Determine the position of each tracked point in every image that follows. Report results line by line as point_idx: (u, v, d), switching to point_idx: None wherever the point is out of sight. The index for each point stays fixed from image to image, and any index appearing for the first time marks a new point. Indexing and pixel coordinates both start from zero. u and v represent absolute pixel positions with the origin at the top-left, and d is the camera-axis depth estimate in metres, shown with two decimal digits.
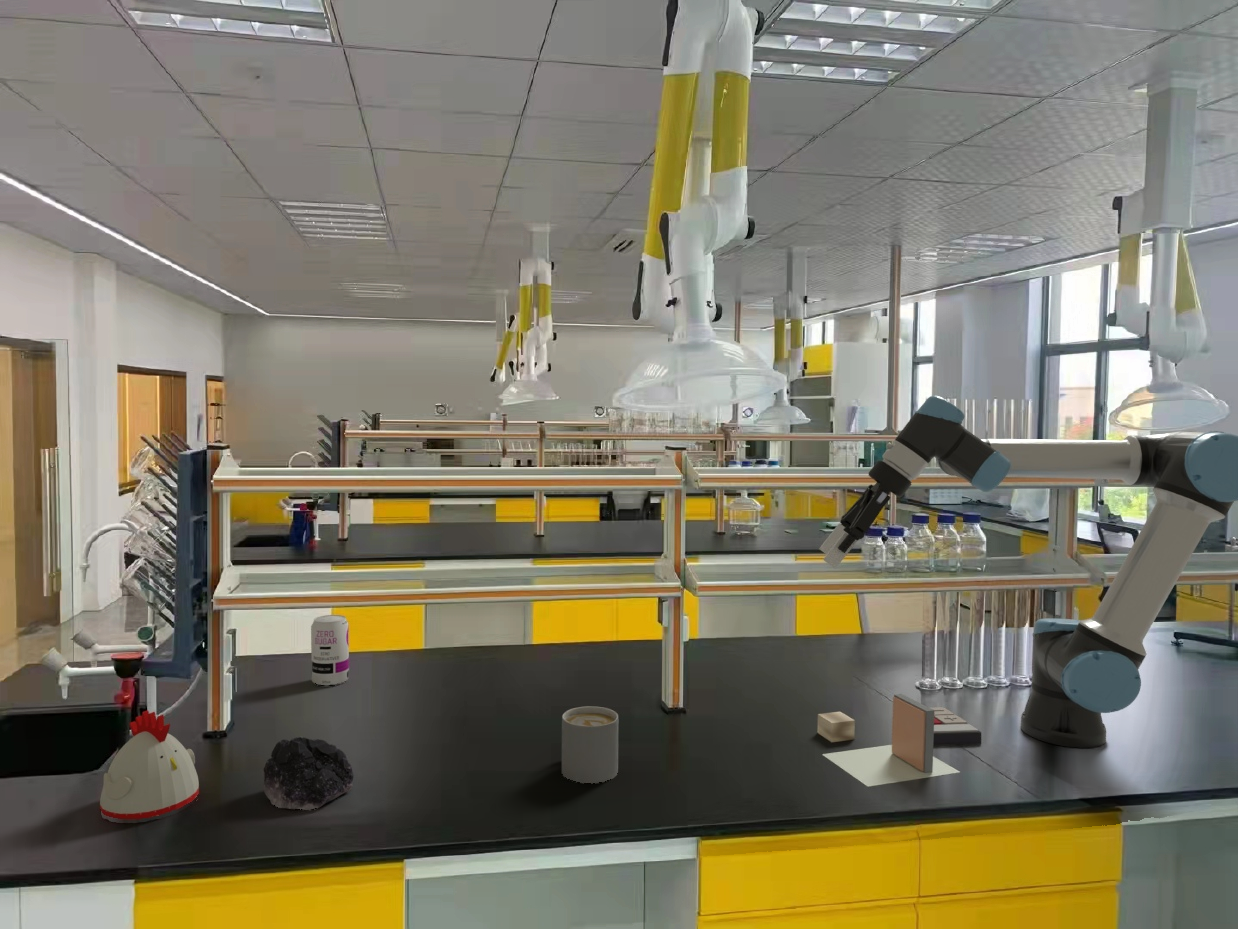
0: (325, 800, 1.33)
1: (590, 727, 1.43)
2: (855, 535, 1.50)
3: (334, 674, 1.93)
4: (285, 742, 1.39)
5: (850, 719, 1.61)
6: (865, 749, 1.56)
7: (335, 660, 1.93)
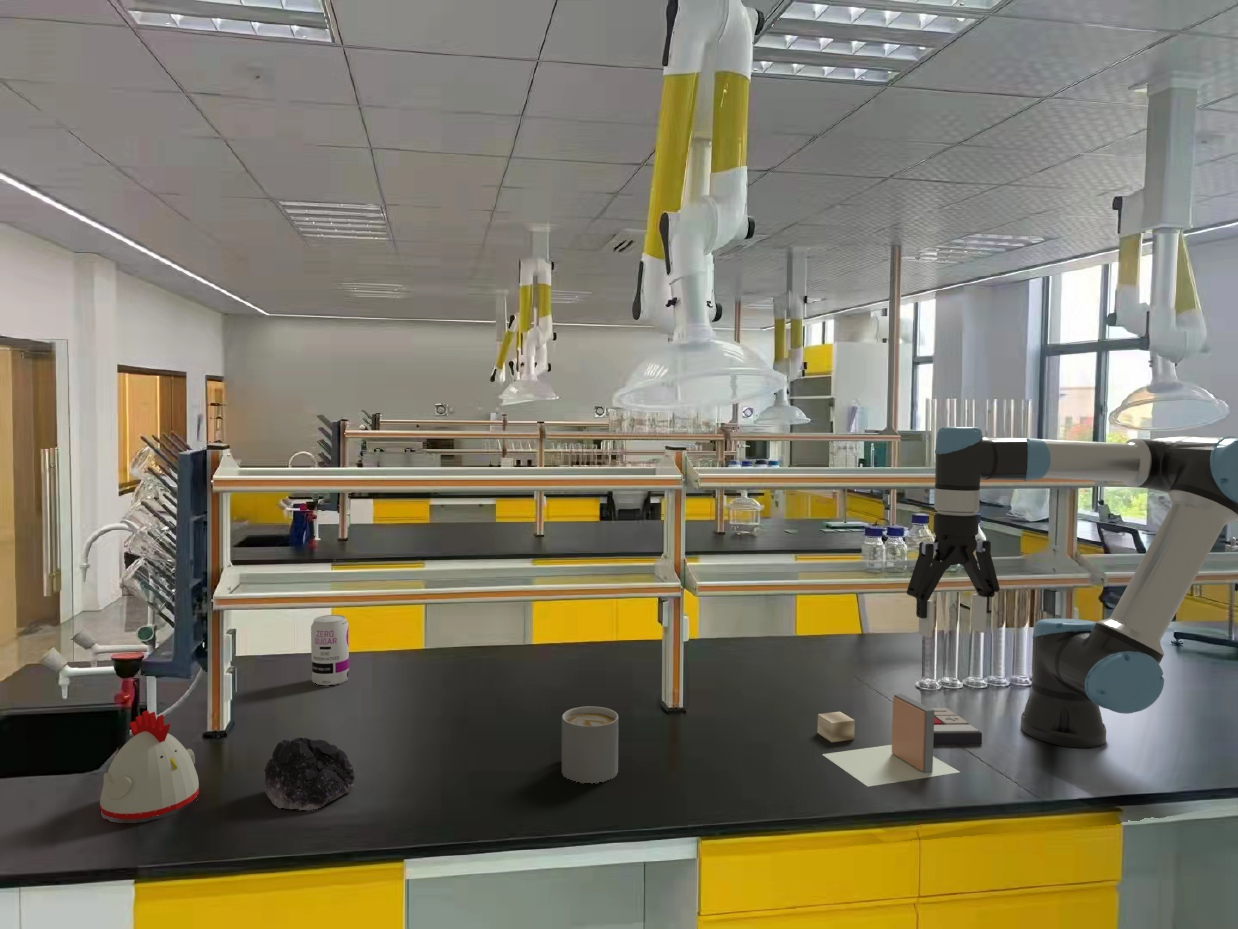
0: (326, 800, 1.33)
1: (590, 727, 1.43)
2: (913, 596, 1.48)
3: (334, 674, 1.93)
4: (286, 742, 1.39)
5: (850, 719, 1.61)
6: (865, 749, 1.56)
7: (335, 660, 1.93)
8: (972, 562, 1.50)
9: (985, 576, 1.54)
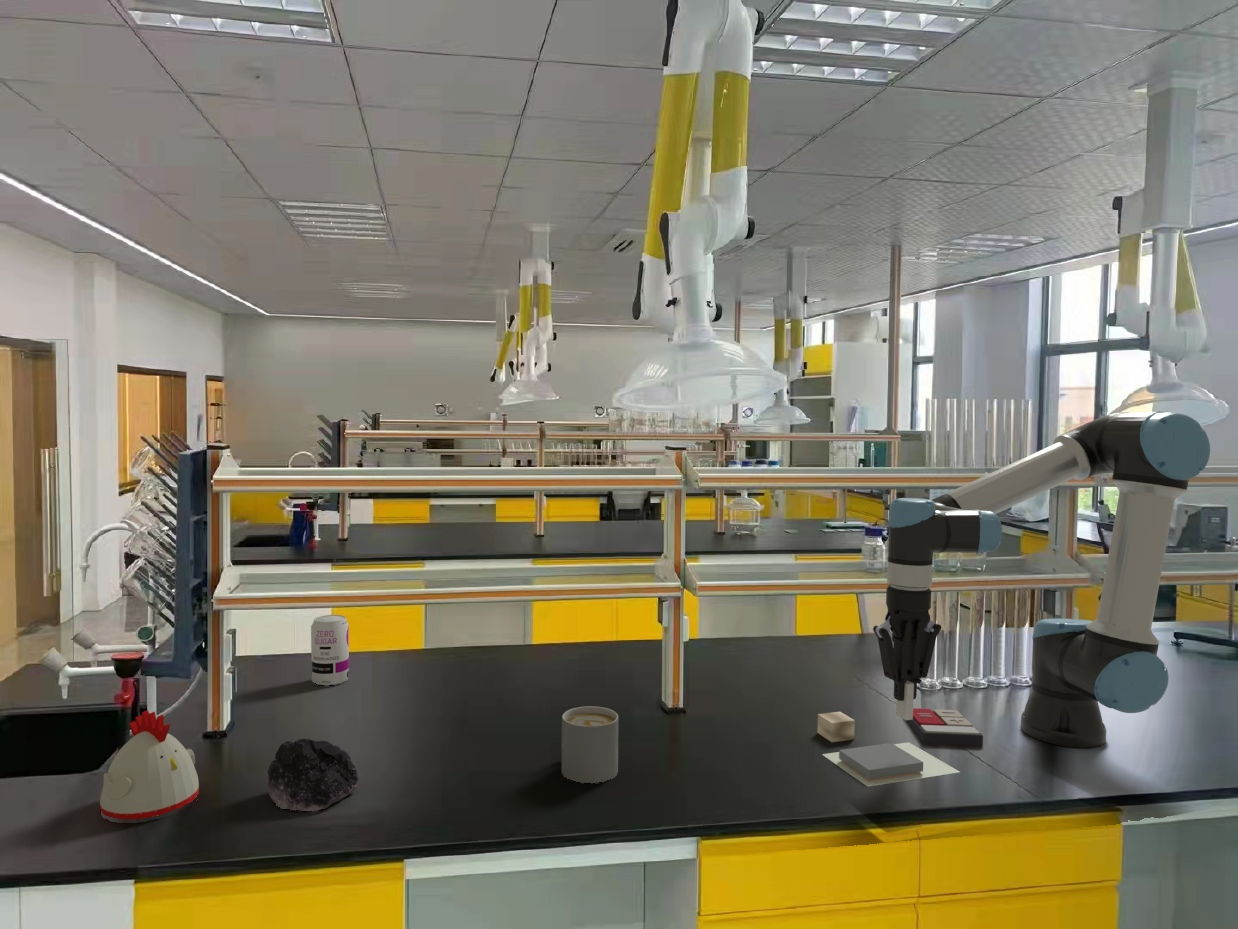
0: (330, 801, 1.33)
1: (590, 727, 1.43)
2: (891, 679, 1.48)
3: (334, 674, 1.93)
4: (289, 744, 1.39)
5: (850, 719, 1.61)
6: None
7: (335, 660, 1.93)
8: (917, 639, 1.47)
9: (919, 658, 1.50)
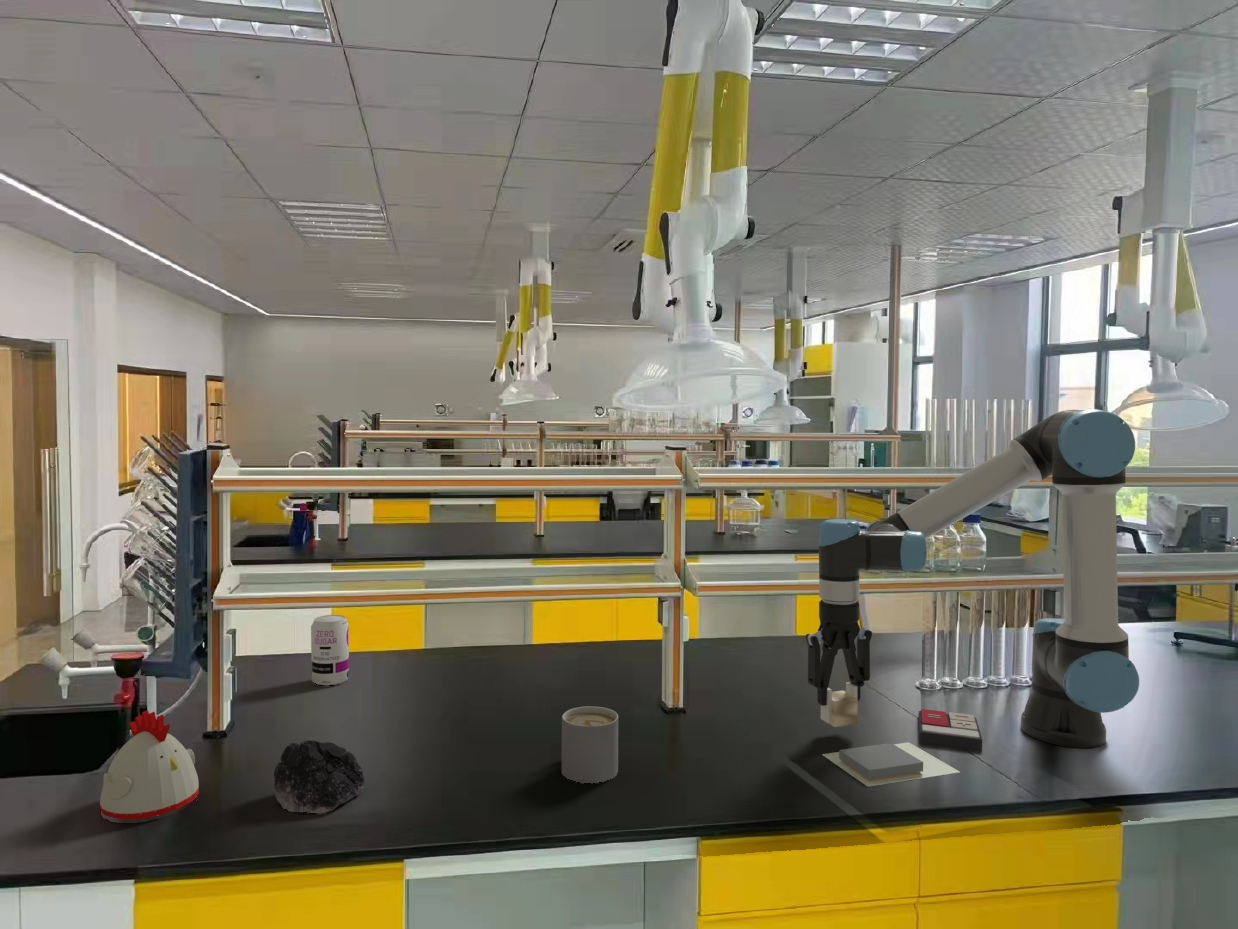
0: (338, 803, 1.32)
1: (590, 727, 1.43)
2: (814, 686, 1.60)
3: (334, 674, 1.93)
4: (295, 745, 1.38)
5: (853, 697, 1.61)
6: None
7: (335, 660, 1.93)
8: (851, 648, 1.60)
9: (860, 663, 1.64)
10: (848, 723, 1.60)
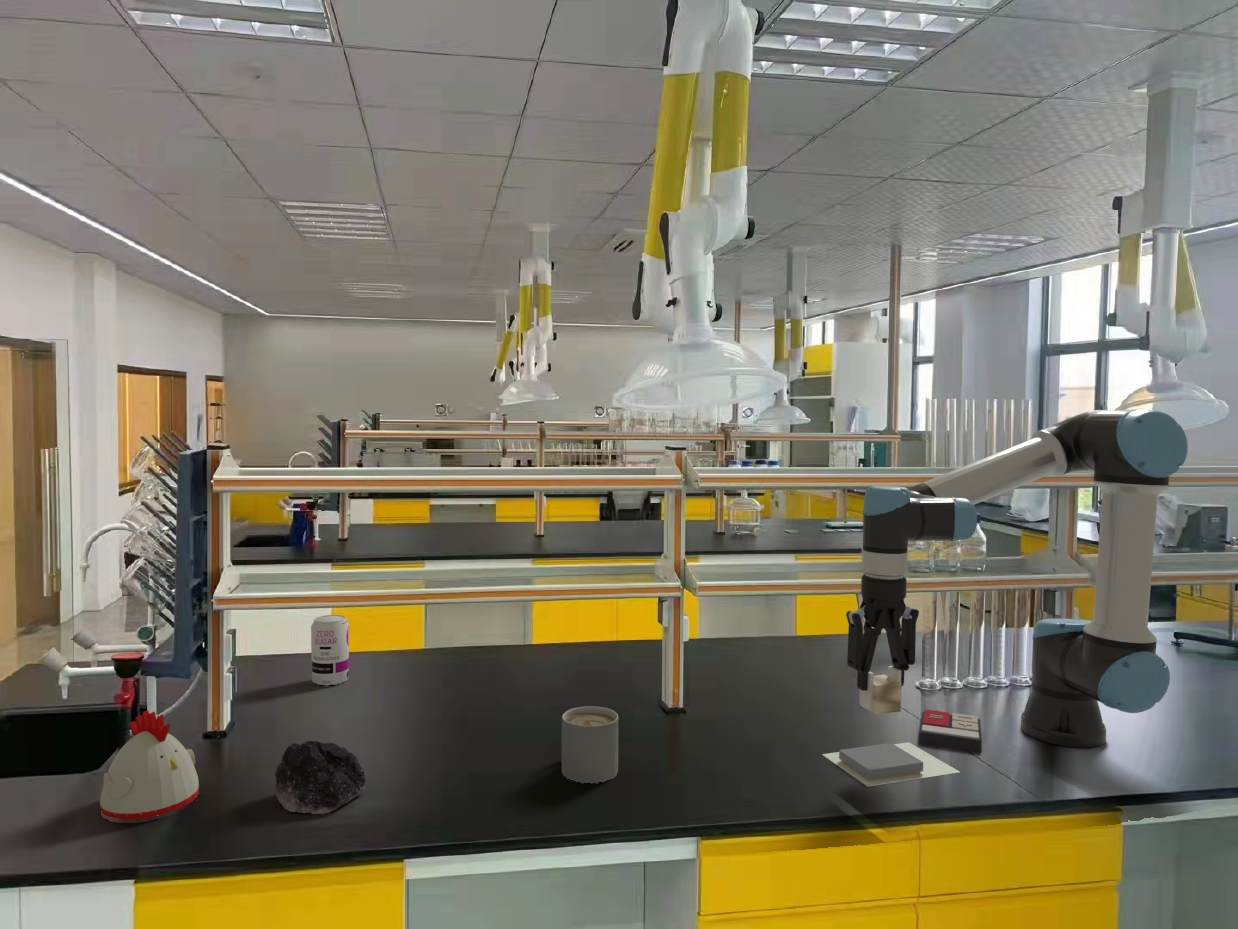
0: (339, 804, 1.32)
1: (590, 727, 1.43)
2: (854, 668, 1.45)
3: (334, 674, 1.93)
4: (296, 746, 1.38)
5: (896, 682, 1.46)
6: None
7: (335, 660, 1.93)
8: (896, 628, 1.46)
9: (904, 645, 1.49)
10: (890, 710, 1.45)
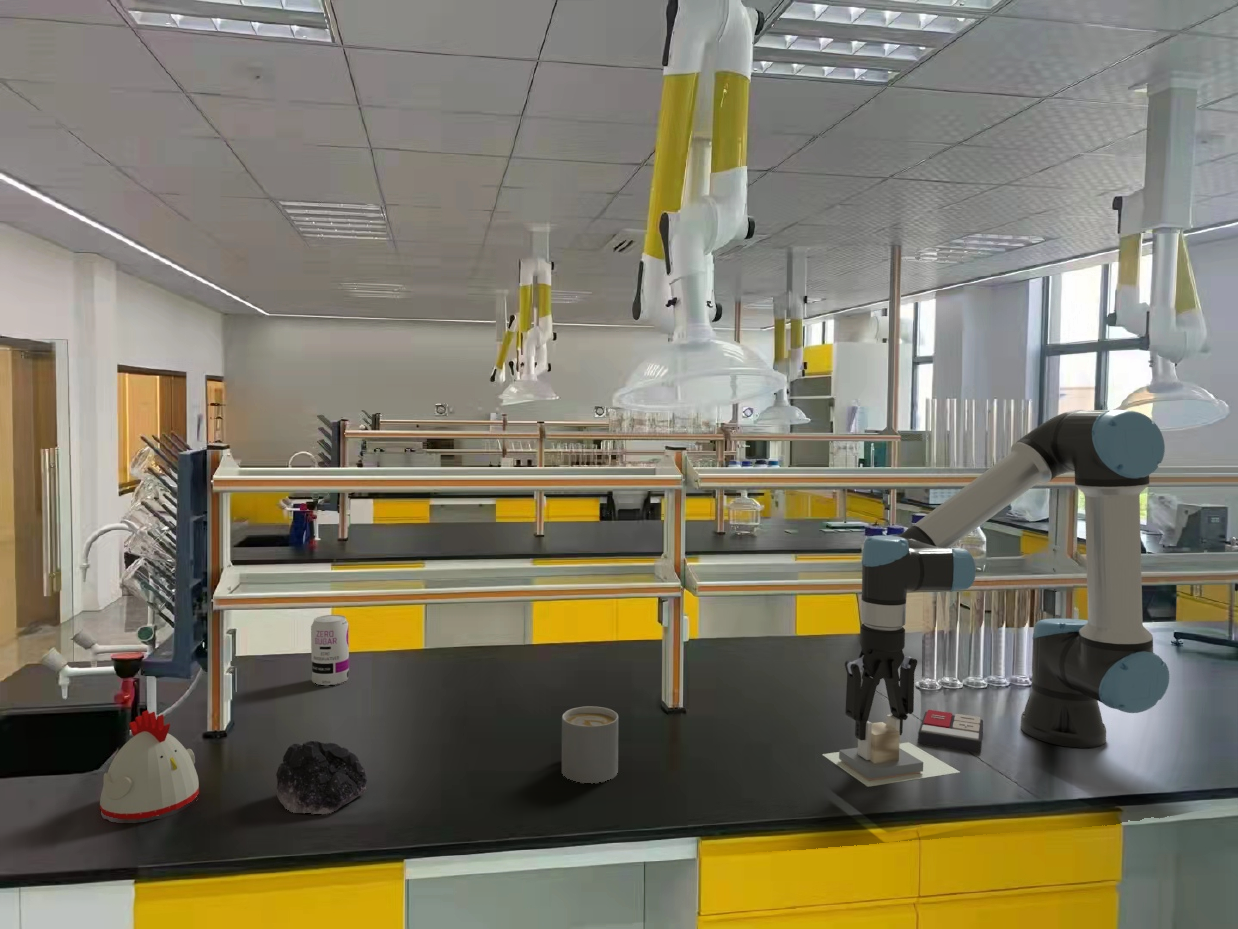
0: (341, 804, 1.32)
1: (590, 727, 1.43)
2: (852, 718, 1.46)
3: (334, 674, 1.93)
4: (297, 746, 1.38)
5: (894, 731, 1.47)
6: None
7: (335, 660, 1.93)
8: (894, 678, 1.46)
9: (903, 694, 1.49)
10: (889, 759, 1.46)
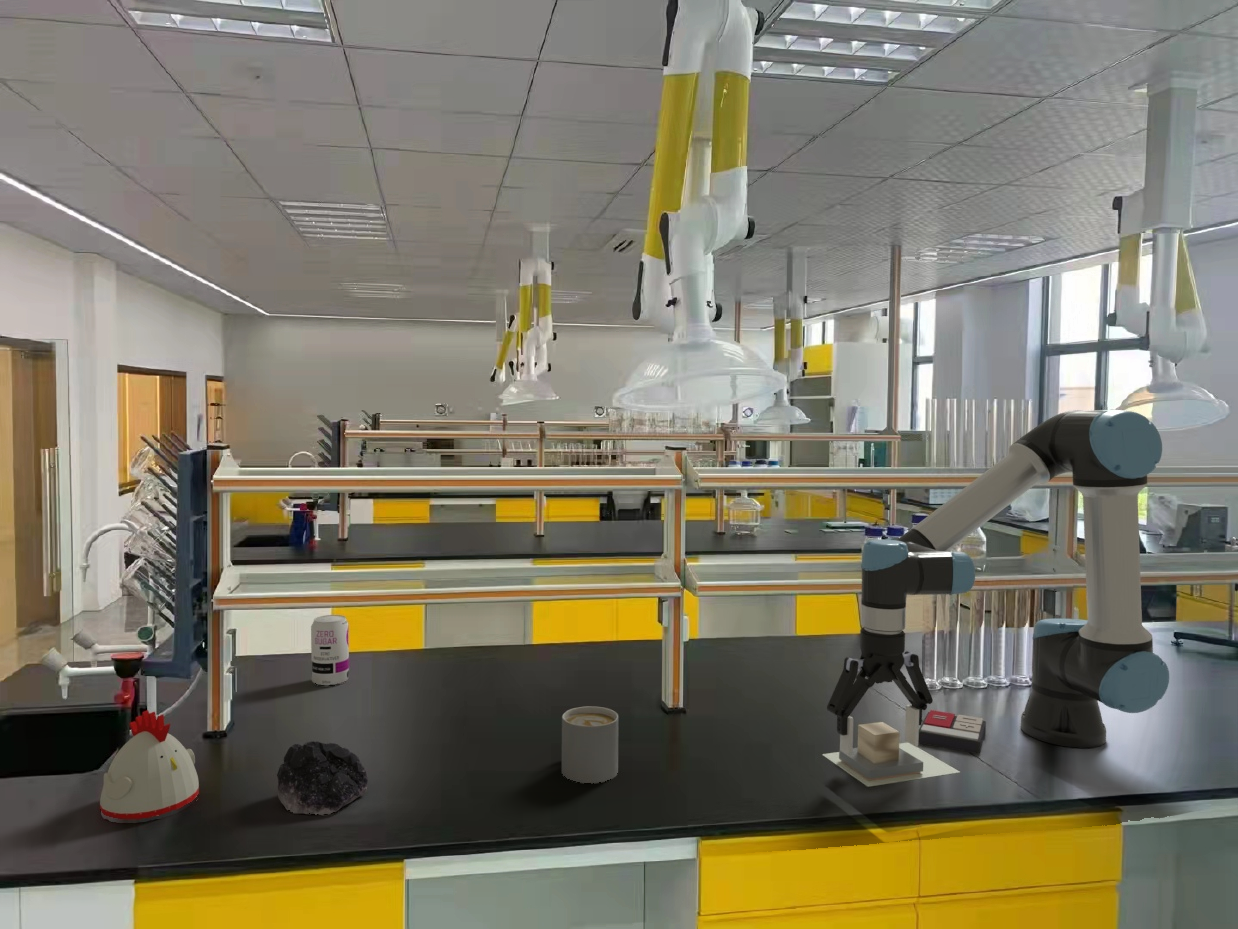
0: (342, 804, 1.32)
1: (590, 727, 1.43)
2: None
3: (334, 674, 1.93)
4: (297, 746, 1.37)
5: (894, 731, 1.47)
6: None
7: (335, 660, 1.93)
8: (900, 679, 1.46)
9: (917, 688, 1.50)
10: (889, 759, 1.46)
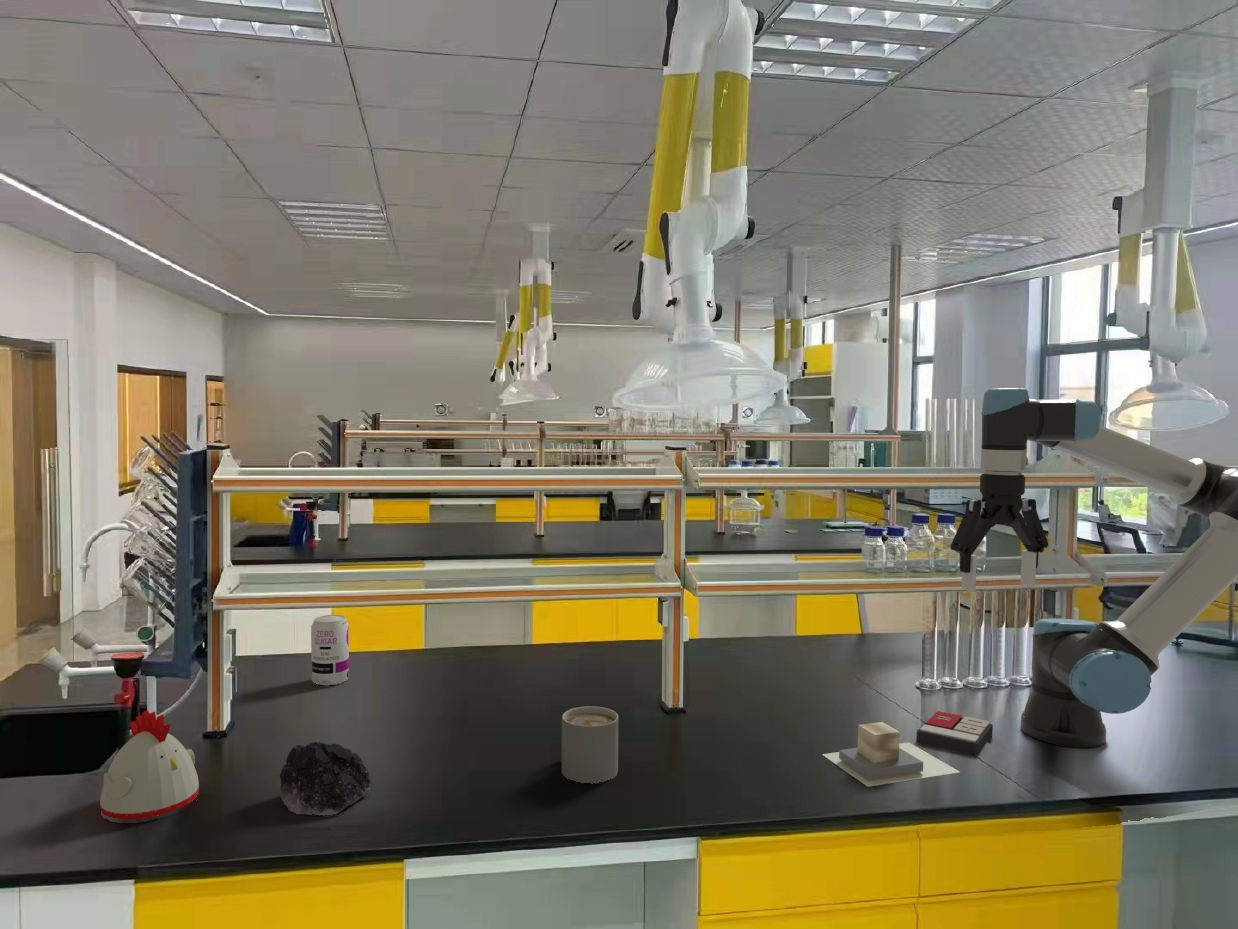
0: (345, 805, 1.32)
1: (590, 727, 1.43)
2: (957, 551, 1.51)
3: (334, 674, 1.93)
4: (300, 747, 1.37)
5: (894, 731, 1.47)
6: None
7: (335, 660, 1.93)
8: (1019, 520, 1.53)
9: (1033, 533, 1.56)
10: (889, 759, 1.46)
